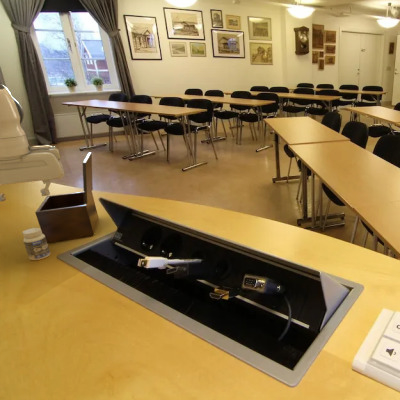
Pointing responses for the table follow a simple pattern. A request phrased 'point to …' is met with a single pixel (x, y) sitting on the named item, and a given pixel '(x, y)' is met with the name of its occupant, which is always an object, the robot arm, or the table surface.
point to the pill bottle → (35, 244)
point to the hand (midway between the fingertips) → (24, 197)
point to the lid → (87, 177)
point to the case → (67, 217)
